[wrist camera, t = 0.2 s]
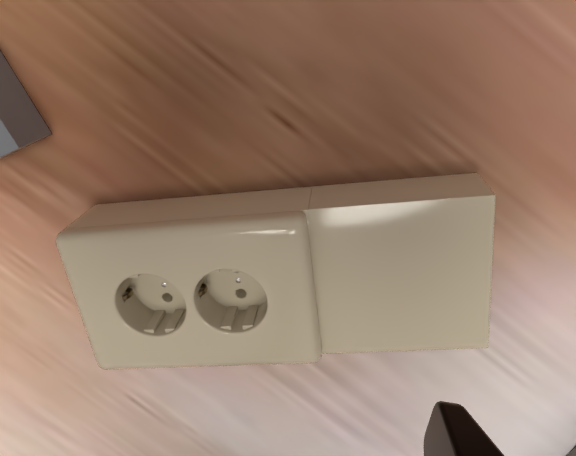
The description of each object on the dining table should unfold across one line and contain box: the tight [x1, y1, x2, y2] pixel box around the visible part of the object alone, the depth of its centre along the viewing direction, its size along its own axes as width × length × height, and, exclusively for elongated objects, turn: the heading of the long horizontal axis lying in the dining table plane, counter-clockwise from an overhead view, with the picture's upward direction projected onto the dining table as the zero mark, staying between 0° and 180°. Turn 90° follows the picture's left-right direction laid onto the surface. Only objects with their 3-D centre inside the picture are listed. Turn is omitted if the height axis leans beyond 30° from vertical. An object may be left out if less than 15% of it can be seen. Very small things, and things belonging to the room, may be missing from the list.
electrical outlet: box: [56, 173, 496, 370], centre depth 22 cm, size 7×4×18 cm
